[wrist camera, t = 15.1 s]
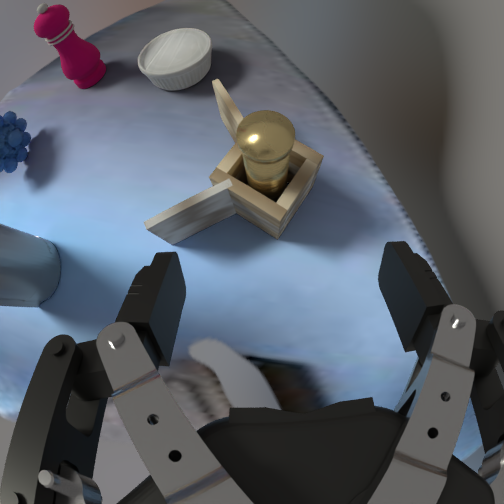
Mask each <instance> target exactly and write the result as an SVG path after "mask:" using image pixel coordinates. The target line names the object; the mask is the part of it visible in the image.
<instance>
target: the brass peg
mask: <svg viewBox="0 0 504 504" xmlns="http://www.w3.org/2000/svg"><path fill="white" fill-rule="evenodd" d="M236 138H237V143H238V147H239V150H240V151H241V153H242V155H243V160H244V166H245V171H246V176H247V181H248V186H249V187H251V188H252V189H254V190H256V191H257V192H259V193H261V194H262V195H264V196H266V197H267V198H269V199H270V200H272V201H274V202H275V203H276V202H277V201H278V199H279V198H280V197H281V195H282V194H283V192H284V191H285V189H286V182H287V174H288V167H289V159H290V153H291V151H292V149H293V146H294V140H295V130H294V127H293V125H292V123H291V122H290V120H289V119H288V118H286V117H285V116H284V115H282V114H280V113H278V112H275V111H268V110H263V111H257V112H254V113H251V114H249V115H248V116H246V117H245V118H244V119H243V120H242V121H241V122H240V123H239V125H238V128H237V131H236Z"/></svg>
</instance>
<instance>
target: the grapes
mask: <svg viewBox="0 0 504 504" xmlns="http://www.w3.org/2000/svg"><path fill="white" fill-rule="evenodd" d="M16 119H17V116H16V114H15V113H14V112H11V111H9V112H7V113H5V115H4V116H3V117H2V116H1V115H0V172H2V171H3V169H4V170H5V172H7V173H12V172H13V171H15V170H16V168H17V165H18V162H22V161H24V160H25V159H26V157H27V154H28V152H27V149H26V148H25V146H27V145H28V144H29V143H30V140H31V136H30V134H29V133H28V132H24V131H25V129H26V126H27V122H26V120H24V119H23V118H19V119H17V120H16Z"/></svg>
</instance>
